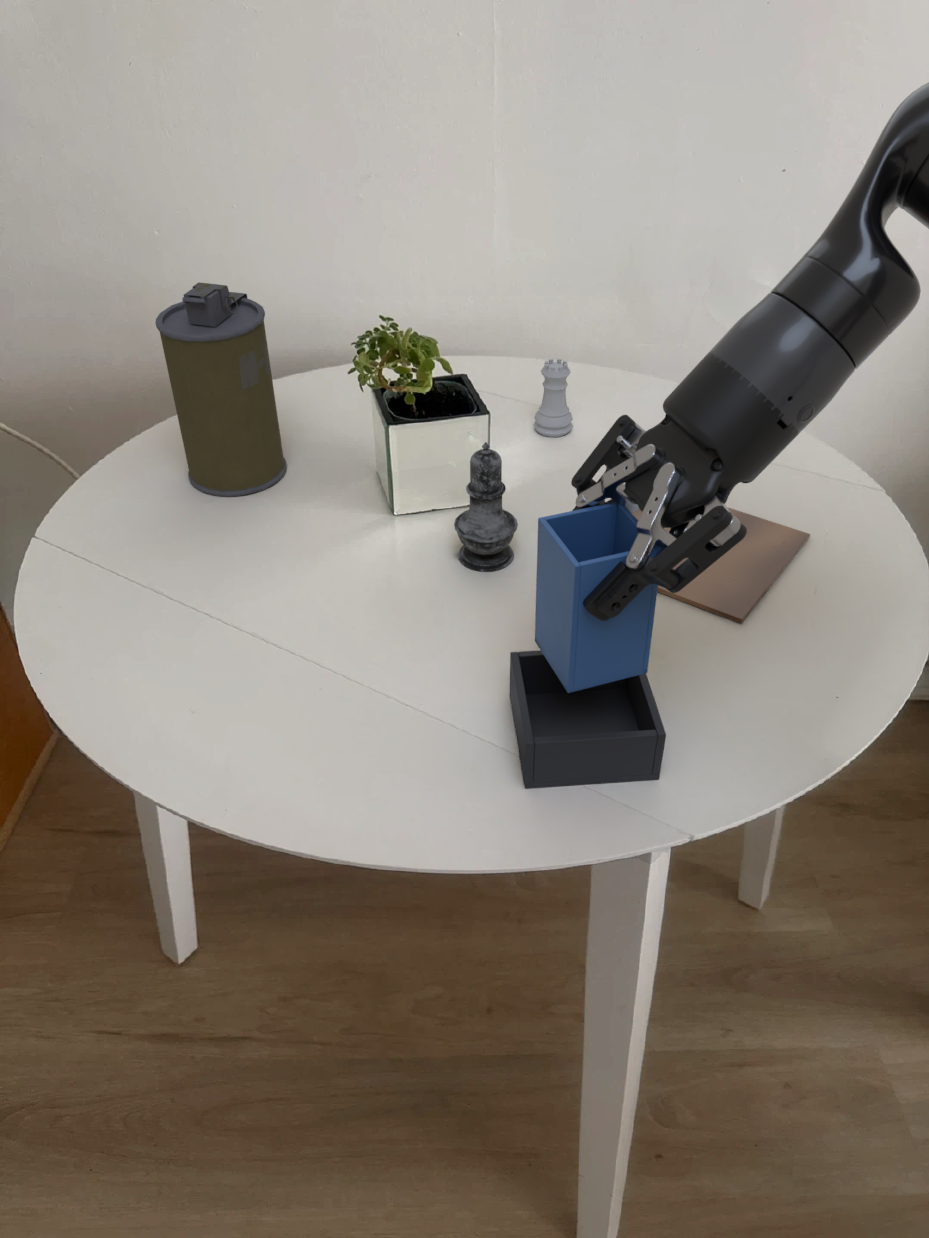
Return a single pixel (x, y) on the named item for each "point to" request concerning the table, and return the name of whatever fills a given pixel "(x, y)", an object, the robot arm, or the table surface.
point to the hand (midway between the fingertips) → (572, 584)
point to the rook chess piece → (554, 401)
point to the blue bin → (567, 574)
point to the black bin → (583, 727)
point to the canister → (223, 390)
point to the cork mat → (742, 568)
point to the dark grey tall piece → (485, 516)
